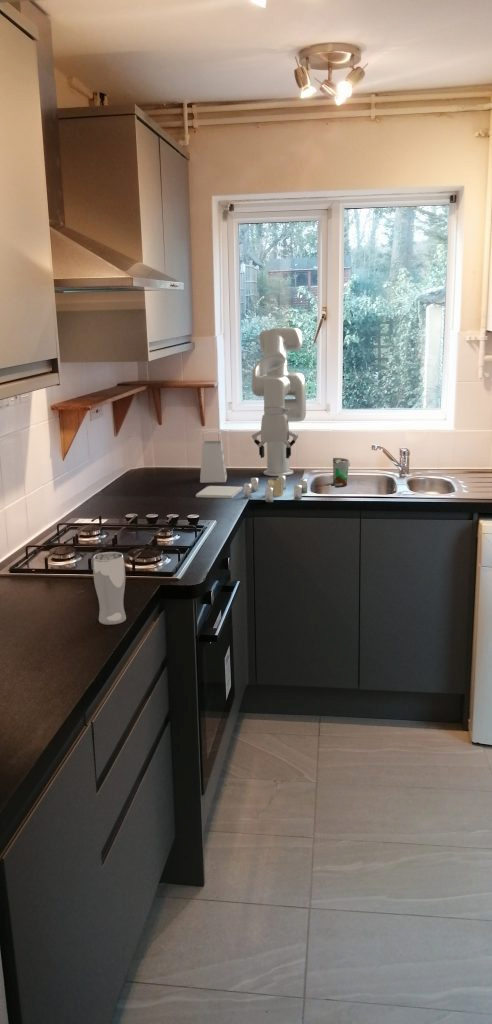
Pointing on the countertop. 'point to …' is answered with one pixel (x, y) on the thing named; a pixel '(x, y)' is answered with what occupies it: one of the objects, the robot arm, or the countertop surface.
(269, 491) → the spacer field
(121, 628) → the countertop surface
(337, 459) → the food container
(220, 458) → the grater
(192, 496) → the countertop surface
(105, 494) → the countertop surface
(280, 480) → the faceted candle holder
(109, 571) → the beer glass
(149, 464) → the countertop surface
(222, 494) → the mat
